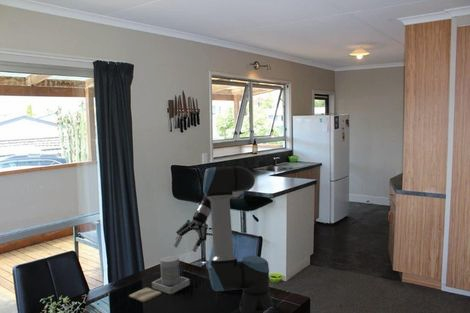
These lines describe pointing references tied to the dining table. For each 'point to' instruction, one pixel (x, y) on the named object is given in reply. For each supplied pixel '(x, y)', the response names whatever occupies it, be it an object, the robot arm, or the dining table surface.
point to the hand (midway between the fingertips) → (184, 248)
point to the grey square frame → (182, 284)
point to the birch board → (145, 294)
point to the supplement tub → (170, 271)
